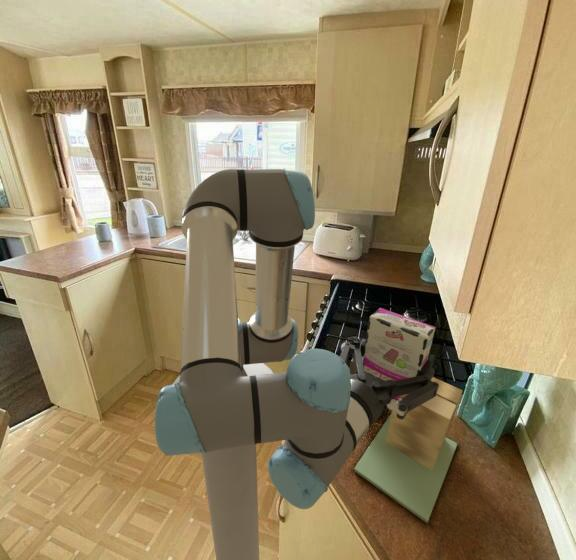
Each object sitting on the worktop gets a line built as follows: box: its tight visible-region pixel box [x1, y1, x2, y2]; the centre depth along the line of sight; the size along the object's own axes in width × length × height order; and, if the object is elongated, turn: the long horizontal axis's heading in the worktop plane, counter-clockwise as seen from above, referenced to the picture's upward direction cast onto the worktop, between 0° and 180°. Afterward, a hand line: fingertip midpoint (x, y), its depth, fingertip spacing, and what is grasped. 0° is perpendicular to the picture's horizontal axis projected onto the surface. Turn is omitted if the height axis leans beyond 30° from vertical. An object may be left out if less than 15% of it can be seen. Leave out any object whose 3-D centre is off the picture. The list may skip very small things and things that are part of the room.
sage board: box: [353, 410, 458, 524], centre depth 73 cm, size 16×22×1 cm
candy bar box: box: [363, 307, 436, 401], centre depth 62 cm, size 11×5×16 cm, turn 50°
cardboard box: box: [386, 376, 464, 471], centre depth 73 cm, size 11×10×16 cm
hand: (402, 348), depth 65 cm, fingers closed on candy bar box, 11 cm apart
